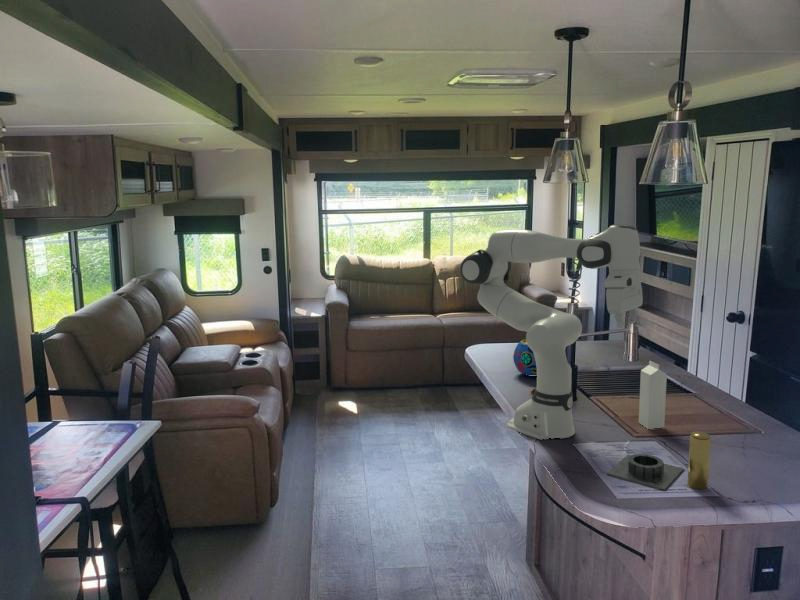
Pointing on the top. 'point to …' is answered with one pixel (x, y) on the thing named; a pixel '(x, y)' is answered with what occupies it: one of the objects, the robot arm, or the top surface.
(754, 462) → the top surface
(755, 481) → the top surface
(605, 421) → the top surface
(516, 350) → the ceramic pot
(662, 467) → the square socket base
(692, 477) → the cylinder
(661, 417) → the milk
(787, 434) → the top surface
